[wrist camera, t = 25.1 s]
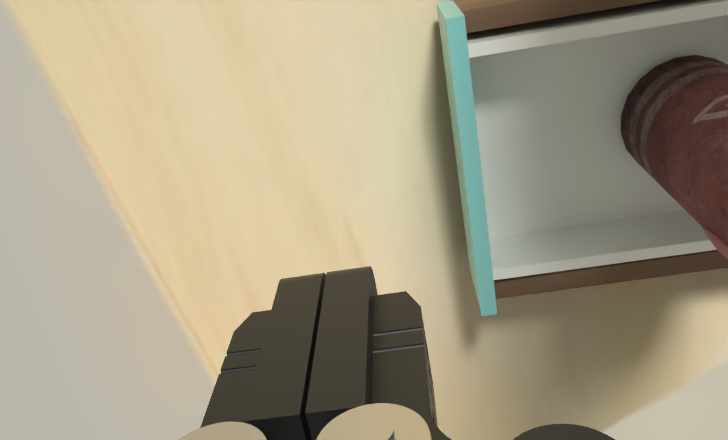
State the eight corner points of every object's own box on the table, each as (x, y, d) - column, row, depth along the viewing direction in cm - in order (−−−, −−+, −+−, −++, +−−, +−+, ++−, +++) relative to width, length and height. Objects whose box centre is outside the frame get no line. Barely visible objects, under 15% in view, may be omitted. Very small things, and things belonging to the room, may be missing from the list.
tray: (436, 2, 34) (445, 18, 29) (774, -56, 33) (843, -50, 28) (469, 266, 40) (481, 316, 35) (756, 226, 39) (811, 272, 34)
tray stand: (450, -3, 35) (460, 10, 31) (801, -64, 34) (866, -60, 29) (480, 255, 41) (493, 298, 37) (780, 213, 40) (832, 253, 35)
